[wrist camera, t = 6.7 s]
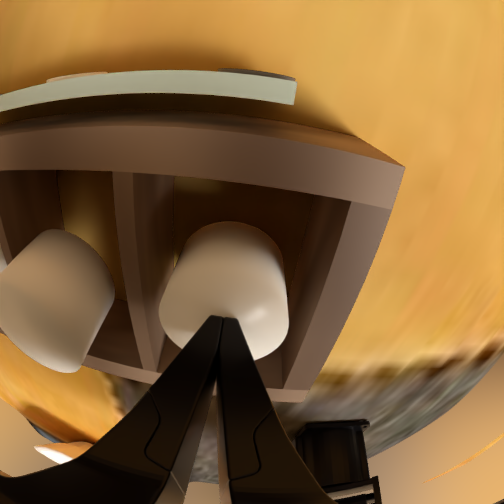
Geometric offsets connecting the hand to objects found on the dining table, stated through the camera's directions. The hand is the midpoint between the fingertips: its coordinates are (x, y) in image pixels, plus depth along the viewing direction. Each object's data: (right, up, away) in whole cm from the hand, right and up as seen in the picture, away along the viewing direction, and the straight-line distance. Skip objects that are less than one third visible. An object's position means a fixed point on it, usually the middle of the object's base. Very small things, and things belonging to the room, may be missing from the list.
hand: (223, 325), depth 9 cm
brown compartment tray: (-6, +3, +4) cm, 8 cm away
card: (-5, +9, 0) cm, 10 cm away
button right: (0, +2, +2) cm, 3 cm away
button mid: (-6, +1, +1) cm, 6 cm away
